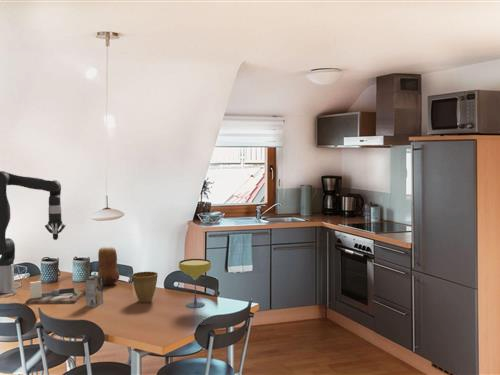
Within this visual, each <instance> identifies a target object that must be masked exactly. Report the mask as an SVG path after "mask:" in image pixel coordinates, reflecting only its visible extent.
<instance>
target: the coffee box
mask: <svg viewBox="0 0 500 375" xmlns="http://www.w3.org/2000/svg"><path fill="white" fill-rule="evenodd" d="M84 280H85V282H84V284H85V285H84V286H85V287H84V289H85V291H84V292H85V306H86V307H93V308H95V307H98V306H100V305H101V304H103V303H104V286H103V285H104V284H103V281H102V275H98V274H96V275H94V274H93V275H90V276H88V277H86V278H84Z"/></svg>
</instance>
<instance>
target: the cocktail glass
mask: <svg viewBox="0 0 500 375" xmlns="http://www.w3.org/2000/svg"><path fill="white" fill-rule="evenodd" d="M178 268H179V271H181V273H184V274H185V275H188V276H190V277H191V279H192V280H194V299H193V300H194V301H192V302H188V303H186V304H185V307H187V308H190V309H199V308H203V307H204V306H206V303H204V302H199V301H197V285H196V284H197V282H196V280H198V279H199V277H200V276H202V275H204V274H205V273H208V272H209V270H211V268H212V262H211V260H208V259H204V258H189V259H183V260H180V261H179V262H178Z"/></svg>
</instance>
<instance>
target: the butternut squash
mask: <svg viewBox="0 0 500 375" xmlns="http://www.w3.org/2000/svg"><path fill="white" fill-rule="evenodd" d="M97 257H98V261H97V262H98V265H99V268H98V272H97V275H102V281H103V285H107V286H112V285H114V284H116V283H117V282H118V280H119V279H120V271H119V269H118V254H117V250H116V248H115V247H112V246H108V247H106V246H103V247H100V248H99V249H98V255H97Z"/></svg>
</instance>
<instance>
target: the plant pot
mask: <svg viewBox="0 0 500 375" xmlns="http://www.w3.org/2000/svg"><path fill="white" fill-rule="evenodd" d="M158 275H159V274H158V272H155V271H139V272H134V273H132V274H131V279H132V285H133V289H134V292H135V294H136V298H137V300H138V302H139V303H150V302H152V301H153V299H154V295H155V291H156V288H157V287H156V286H157V282H158Z"/></svg>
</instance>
